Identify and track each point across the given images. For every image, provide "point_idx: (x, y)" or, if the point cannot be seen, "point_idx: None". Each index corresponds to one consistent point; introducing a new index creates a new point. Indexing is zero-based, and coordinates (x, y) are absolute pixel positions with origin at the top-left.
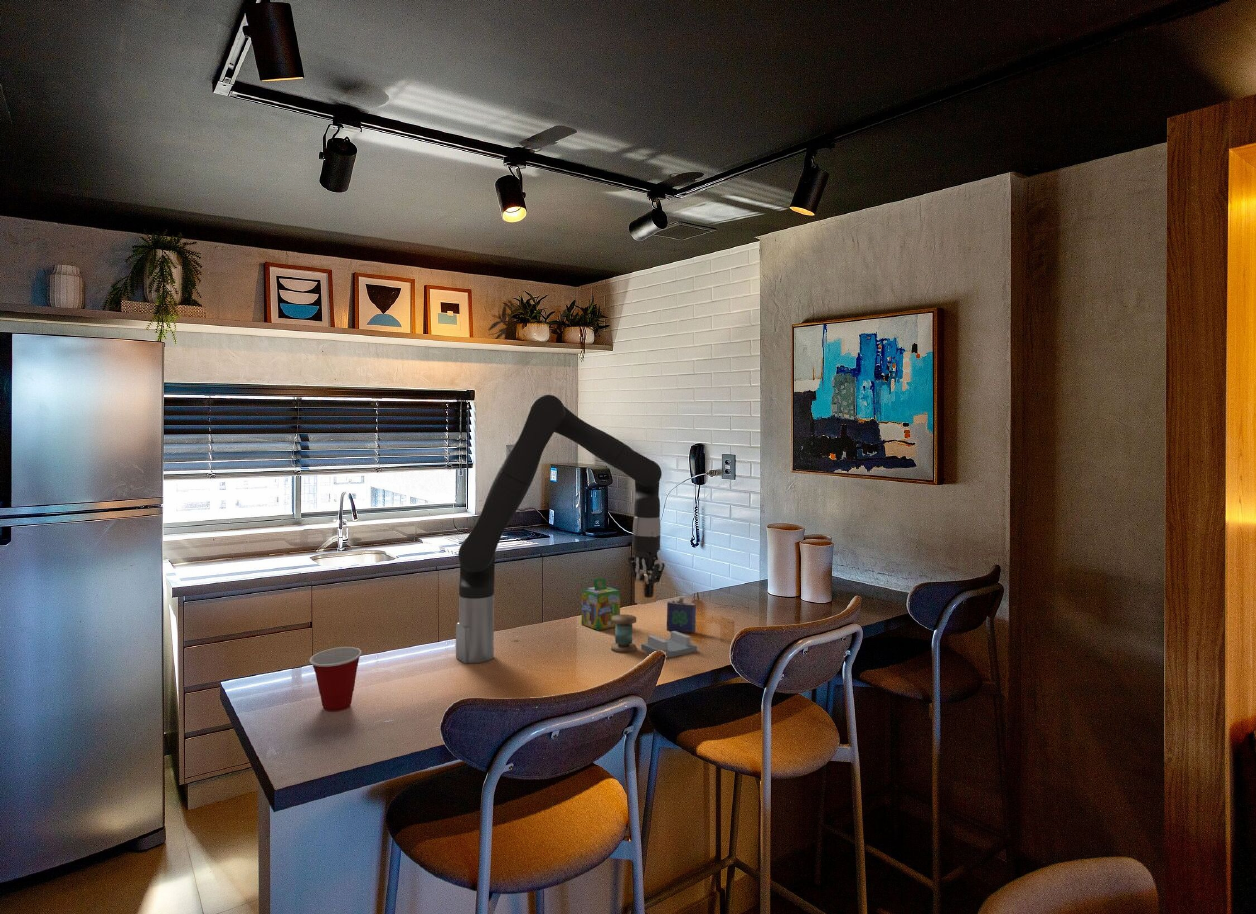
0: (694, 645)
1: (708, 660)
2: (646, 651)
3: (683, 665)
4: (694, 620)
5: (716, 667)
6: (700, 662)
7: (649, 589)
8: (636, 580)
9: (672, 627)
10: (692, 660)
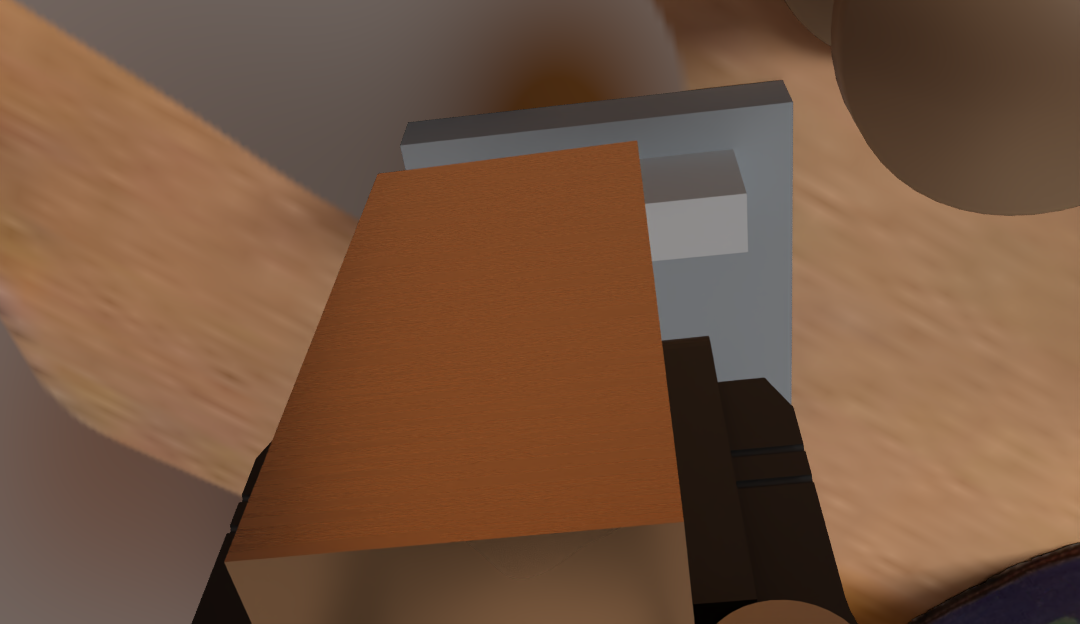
0: None
1: (236, 415)
2: (689, 91)
3: (166, 186)
4: None
5: (54, 379)
6: (206, 343)
7: (225, 554)
8: (675, 577)
9: (1063, 584)
10: (275, 317)
